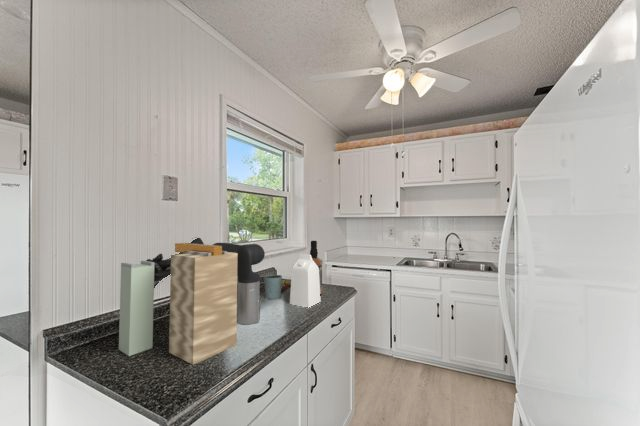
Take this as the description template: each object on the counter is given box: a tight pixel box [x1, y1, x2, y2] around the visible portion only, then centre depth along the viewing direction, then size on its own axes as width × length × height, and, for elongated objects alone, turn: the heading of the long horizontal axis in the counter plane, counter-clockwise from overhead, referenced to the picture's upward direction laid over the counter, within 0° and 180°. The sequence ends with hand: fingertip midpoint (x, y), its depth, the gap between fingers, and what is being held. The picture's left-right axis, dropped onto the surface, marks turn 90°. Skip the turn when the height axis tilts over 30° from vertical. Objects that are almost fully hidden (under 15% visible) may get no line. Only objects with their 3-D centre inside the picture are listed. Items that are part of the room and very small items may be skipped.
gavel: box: [281, 279, 291, 293], centre depth 173 cm, size 21×5×10 cm
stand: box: [168, 251, 238, 365], centre depth 92 cm, size 14×16×33 cm
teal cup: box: [263, 274, 283, 300], centre depth 155 cm, size 10×10×12 cm
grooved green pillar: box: [118, 260, 155, 357], centre depth 92 cm, size 8×7×29 cm
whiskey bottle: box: [309, 240, 324, 294], centre depth 163 cm, size 10×10×32 cm
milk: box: [289, 253, 322, 309], centre depth 144 cm, size 12×12×26 cm
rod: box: [174, 242, 222, 256], centre depth 96 cm, size 24×3×3 cm, turn 56°
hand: (173, 254), depth 103 cm, fingers open, 8 cm apart
